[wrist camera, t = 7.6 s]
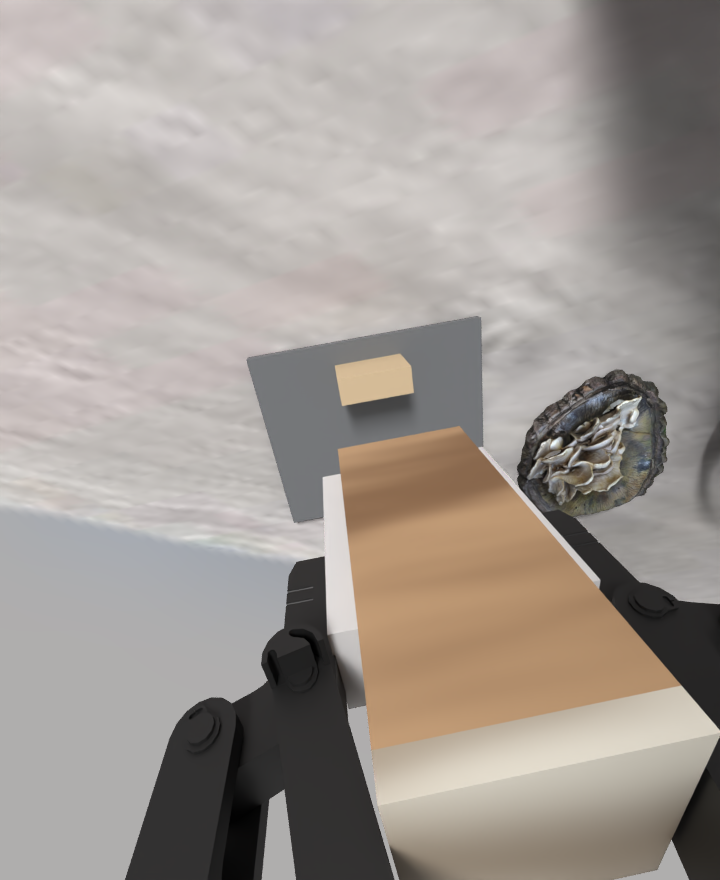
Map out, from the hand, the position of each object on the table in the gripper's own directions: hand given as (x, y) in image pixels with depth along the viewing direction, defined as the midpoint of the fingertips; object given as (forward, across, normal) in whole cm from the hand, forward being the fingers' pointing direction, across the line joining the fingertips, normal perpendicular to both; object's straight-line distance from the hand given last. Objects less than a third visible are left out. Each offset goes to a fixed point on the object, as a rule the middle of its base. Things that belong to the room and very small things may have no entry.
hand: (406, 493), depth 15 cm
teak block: (0, 0, 0) cm, 0 cm away
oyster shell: (+12, +16, -7) cm, 21 cm away
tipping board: (+11, 0, -2) cm, 11 cm away
